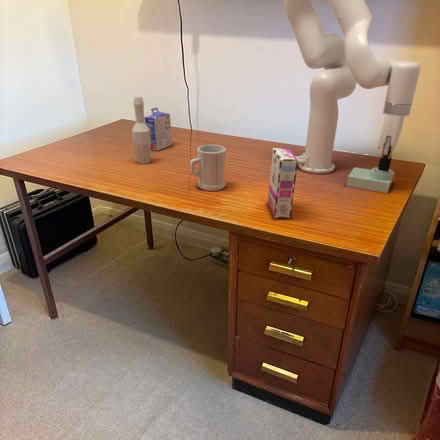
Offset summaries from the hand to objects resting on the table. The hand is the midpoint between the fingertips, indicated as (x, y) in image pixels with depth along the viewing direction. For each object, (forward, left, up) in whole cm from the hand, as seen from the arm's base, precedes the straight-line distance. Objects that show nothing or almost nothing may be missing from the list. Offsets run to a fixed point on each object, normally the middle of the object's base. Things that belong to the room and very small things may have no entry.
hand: (383, 169), depth 139 cm
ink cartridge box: (-73, +45, -6) cm, 86 cm away
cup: (-55, +1, -6) cm, 56 cm away
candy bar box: (-36, -18, -6) cm, 41 cm away
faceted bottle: (-78, +27, -6) cm, 83 cm away
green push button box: (-3, +2, -5) cm, 6 cm away
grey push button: (0, 0, -2) cm, 2 cm away
